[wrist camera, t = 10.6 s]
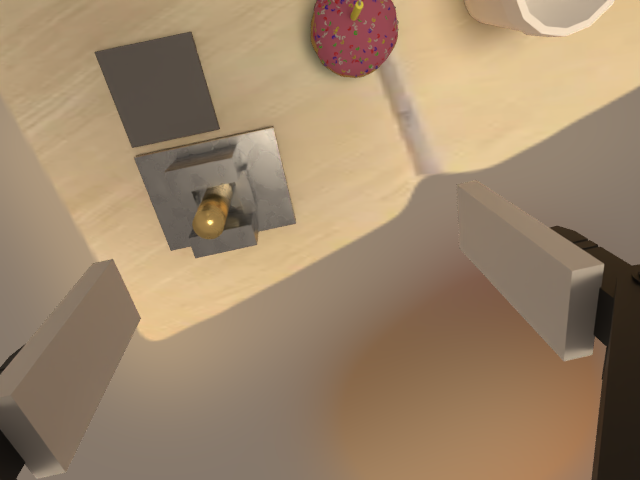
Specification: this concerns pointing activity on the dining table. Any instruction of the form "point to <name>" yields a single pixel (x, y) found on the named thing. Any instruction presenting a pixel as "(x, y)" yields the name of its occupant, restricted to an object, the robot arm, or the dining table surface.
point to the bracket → (213, 170)
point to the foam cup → (539, 15)
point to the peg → (213, 212)
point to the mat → (159, 89)
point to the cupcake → (353, 34)
